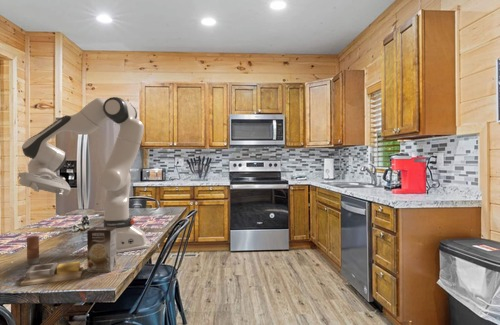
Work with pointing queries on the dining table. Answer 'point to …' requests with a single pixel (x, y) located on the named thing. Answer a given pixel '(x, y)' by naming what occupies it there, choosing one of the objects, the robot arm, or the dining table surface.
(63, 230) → the dining table surface
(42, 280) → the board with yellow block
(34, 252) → the terracotta peg
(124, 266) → the dining table surface
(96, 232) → the coffee box
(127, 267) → the dining table surface
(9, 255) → the dining table surface
